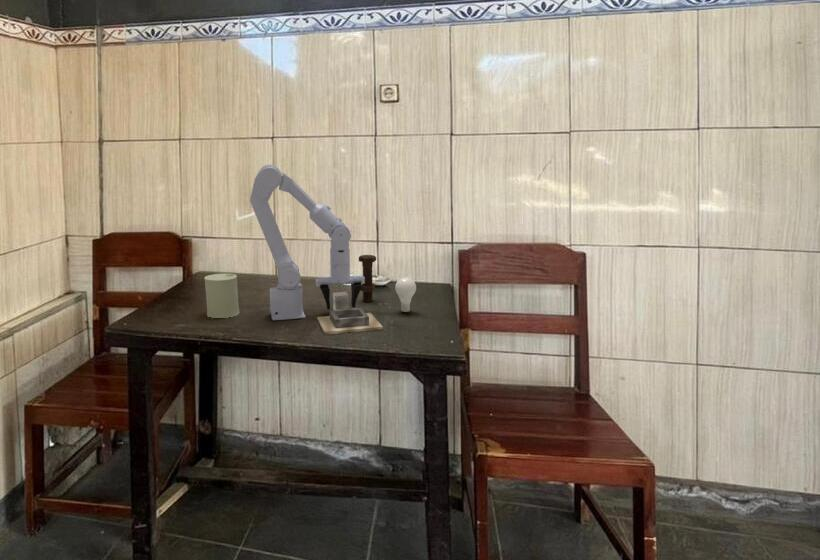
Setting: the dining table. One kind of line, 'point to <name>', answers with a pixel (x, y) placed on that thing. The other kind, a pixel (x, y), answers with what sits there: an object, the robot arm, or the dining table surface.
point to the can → (221, 295)
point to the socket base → (348, 321)
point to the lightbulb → (405, 292)
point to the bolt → (367, 276)
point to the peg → (340, 301)
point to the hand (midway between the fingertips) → (340, 307)
